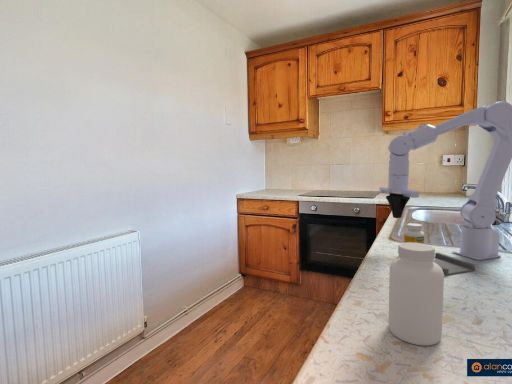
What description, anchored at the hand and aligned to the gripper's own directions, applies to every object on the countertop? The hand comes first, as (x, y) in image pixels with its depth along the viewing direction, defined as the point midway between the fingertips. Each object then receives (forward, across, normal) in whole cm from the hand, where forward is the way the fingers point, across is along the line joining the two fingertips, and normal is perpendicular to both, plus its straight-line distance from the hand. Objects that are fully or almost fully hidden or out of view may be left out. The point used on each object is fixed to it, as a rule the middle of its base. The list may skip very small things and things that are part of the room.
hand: (397, 217), depth 96 cm
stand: (+10, +16, 0) cm, 20 cm away
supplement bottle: (+11, +7, 0) cm, 13 cm away
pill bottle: (+11, +39, -32) cm, 52 cm away
